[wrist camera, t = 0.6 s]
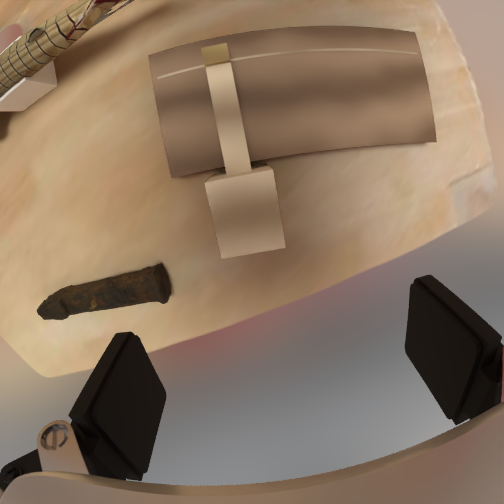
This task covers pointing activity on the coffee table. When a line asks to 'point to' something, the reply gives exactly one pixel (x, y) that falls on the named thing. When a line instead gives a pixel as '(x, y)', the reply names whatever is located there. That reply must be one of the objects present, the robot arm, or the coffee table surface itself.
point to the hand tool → (108, 294)
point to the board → (296, 93)
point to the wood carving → (45, 52)
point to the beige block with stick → (238, 173)
